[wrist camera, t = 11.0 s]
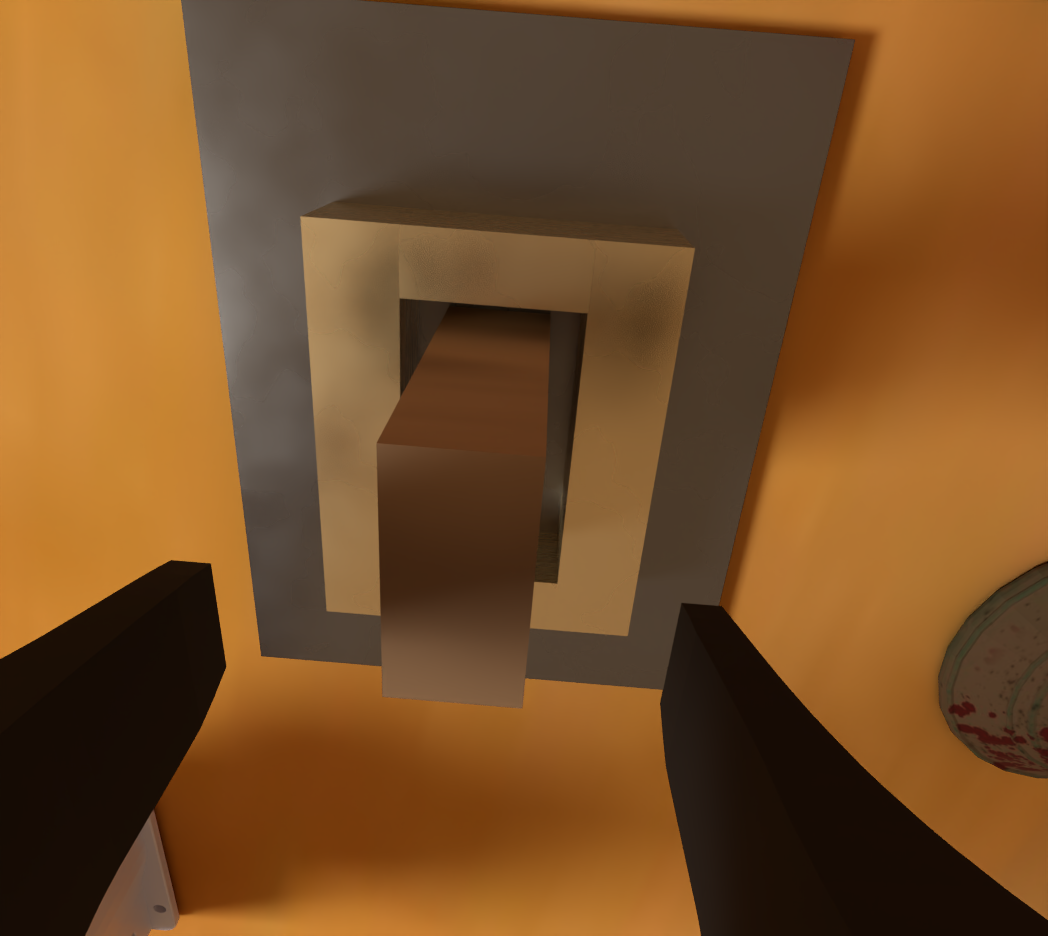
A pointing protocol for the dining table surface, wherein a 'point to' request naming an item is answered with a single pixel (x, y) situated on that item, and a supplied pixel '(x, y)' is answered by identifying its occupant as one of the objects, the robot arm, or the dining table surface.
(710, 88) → the grey framed slot plate
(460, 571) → the thick wooden plank
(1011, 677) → the candlestick holder
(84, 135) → the dining table surface
